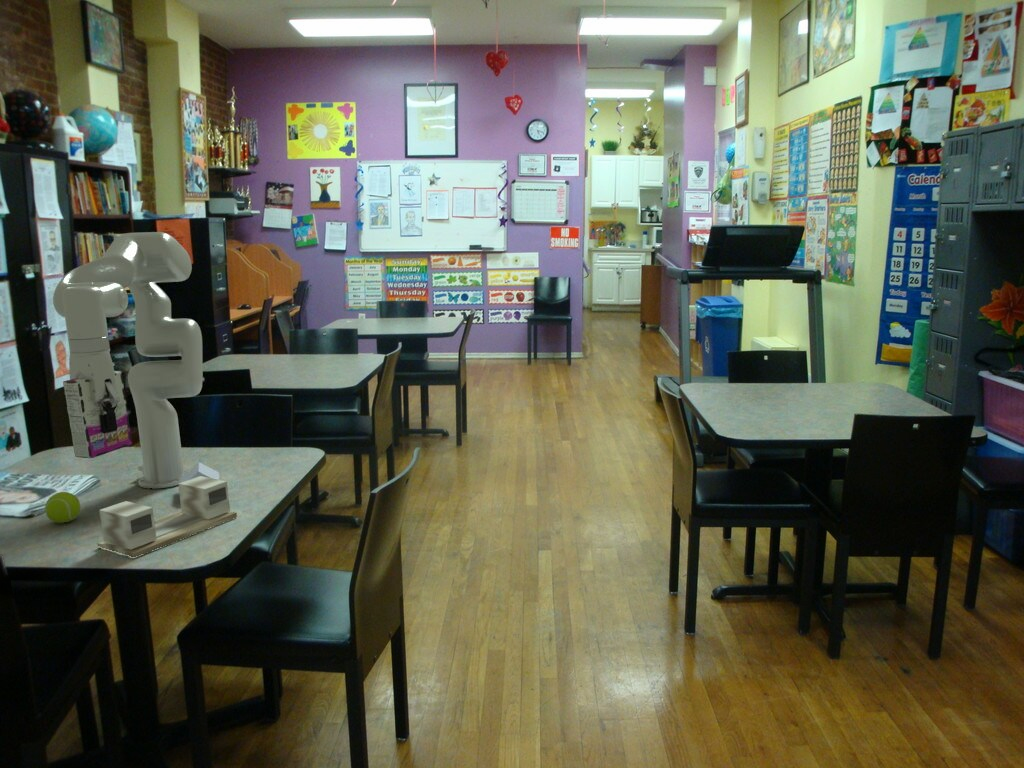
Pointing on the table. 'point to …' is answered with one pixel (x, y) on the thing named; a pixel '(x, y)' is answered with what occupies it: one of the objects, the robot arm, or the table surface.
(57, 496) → the tennis ball
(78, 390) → the candy bar box
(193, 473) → the white angular piece
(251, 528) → the table surface
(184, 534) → the rail board
